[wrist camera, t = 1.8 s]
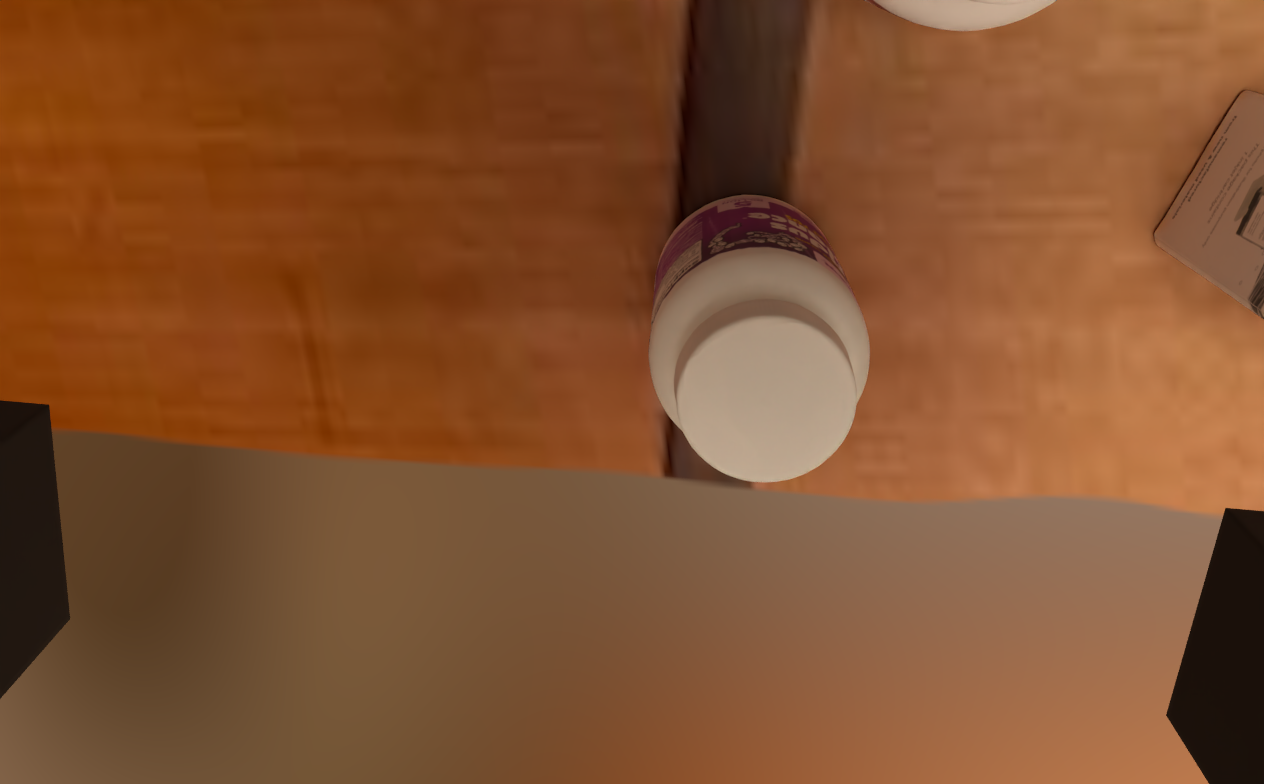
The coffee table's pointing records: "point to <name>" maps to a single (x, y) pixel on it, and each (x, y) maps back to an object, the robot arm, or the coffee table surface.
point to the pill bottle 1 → (756, 339)
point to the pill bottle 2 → (962, 12)
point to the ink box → (1225, 208)
